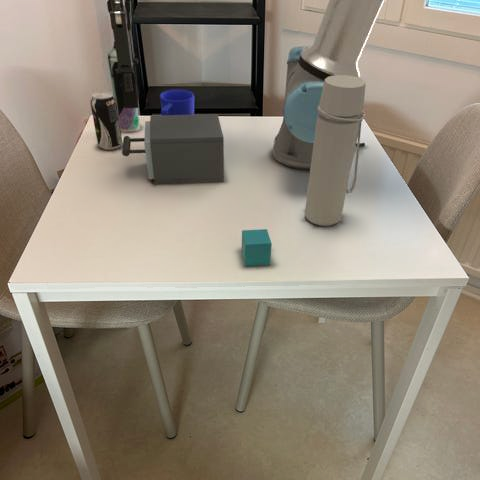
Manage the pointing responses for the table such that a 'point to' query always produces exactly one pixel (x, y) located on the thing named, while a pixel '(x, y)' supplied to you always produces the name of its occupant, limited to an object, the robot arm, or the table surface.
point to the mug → (177, 102)
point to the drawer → (147, 150)
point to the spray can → (121, 97)
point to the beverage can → (106, 120)
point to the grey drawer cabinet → (187, 148)
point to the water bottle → (334, 148)
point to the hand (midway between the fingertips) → (132, 103)
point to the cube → (256, 247)
